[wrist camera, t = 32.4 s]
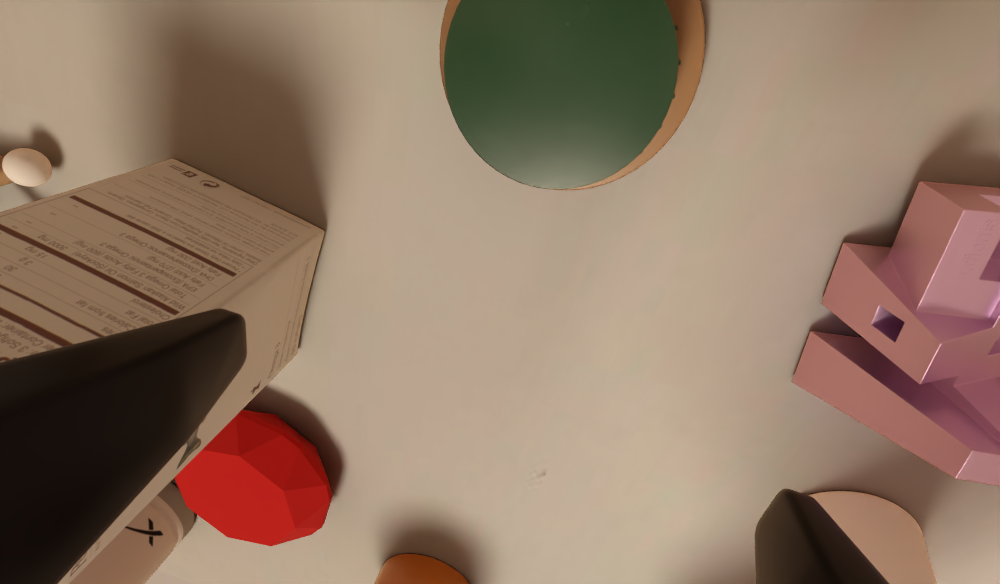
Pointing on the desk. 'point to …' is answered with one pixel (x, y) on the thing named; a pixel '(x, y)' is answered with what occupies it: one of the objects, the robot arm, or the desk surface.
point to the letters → (921, 333)
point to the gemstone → (258, 481)
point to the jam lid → (560, 84)
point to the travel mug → (142, 542)
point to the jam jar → (417, 571)
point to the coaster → (691, 53)
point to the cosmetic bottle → (881, 535)
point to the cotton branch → (24, 167)
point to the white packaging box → (156, 280)
